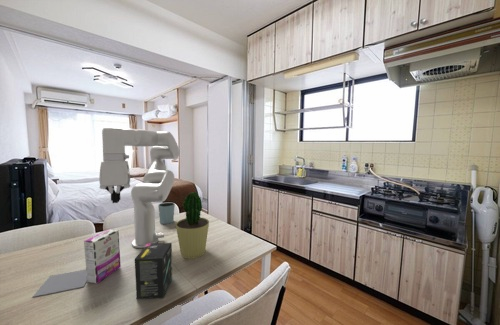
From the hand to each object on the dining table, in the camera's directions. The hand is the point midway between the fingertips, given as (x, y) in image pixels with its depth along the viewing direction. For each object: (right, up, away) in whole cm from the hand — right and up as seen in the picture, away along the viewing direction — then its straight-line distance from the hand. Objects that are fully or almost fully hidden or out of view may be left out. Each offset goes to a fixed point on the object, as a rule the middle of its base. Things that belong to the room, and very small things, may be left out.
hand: (115, 202), depth 86 cm
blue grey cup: (0, -24, +54) cm, 59 cm away
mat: (-14, -28, -8) cm, 32 cm away
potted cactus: (+28, -27, +15) cm, 42 cm away
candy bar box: (-2, -28, -3) cm, 29 cm away
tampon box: (+21, -29, -11) cm, 38 cm away
